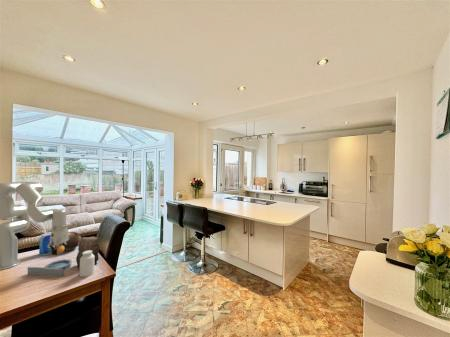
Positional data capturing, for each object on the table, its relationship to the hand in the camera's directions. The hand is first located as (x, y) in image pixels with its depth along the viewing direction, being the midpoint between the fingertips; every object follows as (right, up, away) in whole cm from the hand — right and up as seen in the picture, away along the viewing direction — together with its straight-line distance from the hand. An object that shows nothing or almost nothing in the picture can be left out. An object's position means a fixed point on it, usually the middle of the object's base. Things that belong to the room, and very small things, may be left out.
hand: (58, 252), depth 132 cm
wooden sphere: (-17, -11, +29) cm, 35 cm away
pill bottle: (+25, -12, -7) cm, 28 cm away
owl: (+17, -12, +3) cm, 21 cm away
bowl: (0, -11, 0) cm, 11 cm away
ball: (0, +2, 0) cm, 2 cm away
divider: (-1, -11, -9) cm, 14 cm away
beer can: (-29, -11, +21) cm, 37 cm away
